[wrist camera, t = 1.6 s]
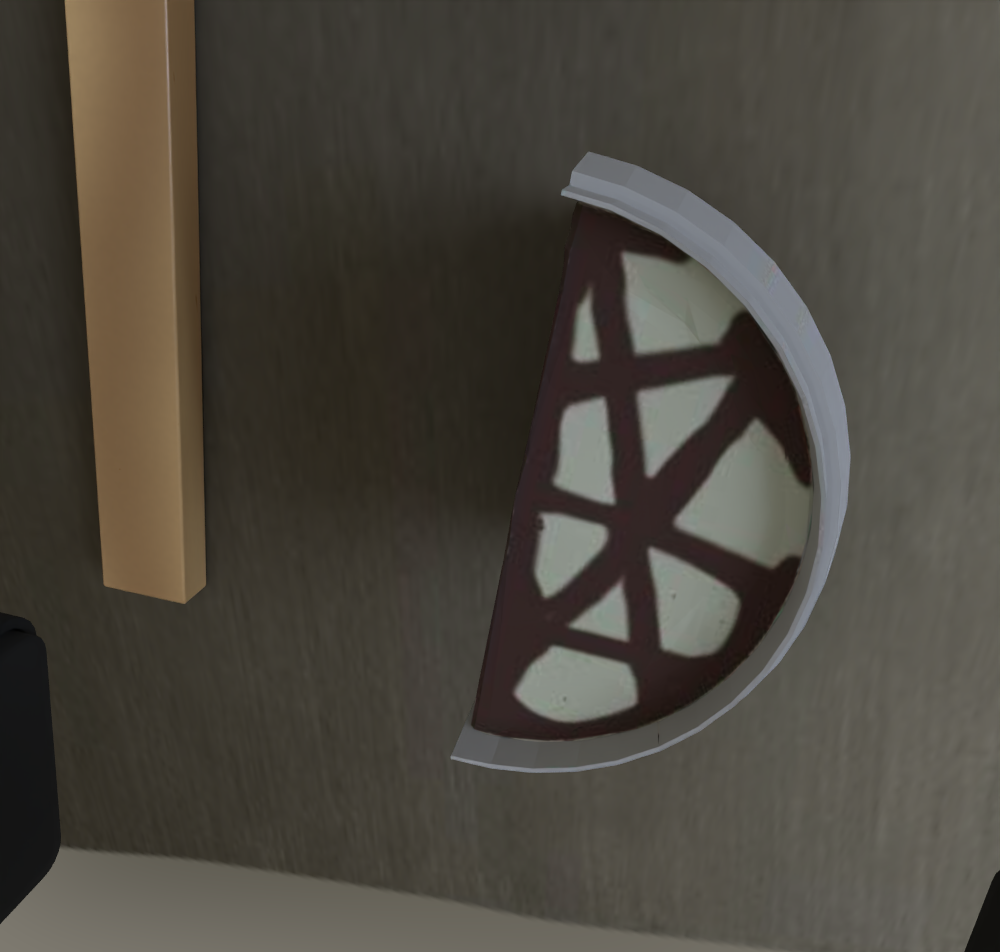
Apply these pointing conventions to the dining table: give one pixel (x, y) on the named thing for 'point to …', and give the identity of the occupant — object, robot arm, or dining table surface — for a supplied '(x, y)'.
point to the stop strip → (141, 285)
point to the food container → (659, 487)
